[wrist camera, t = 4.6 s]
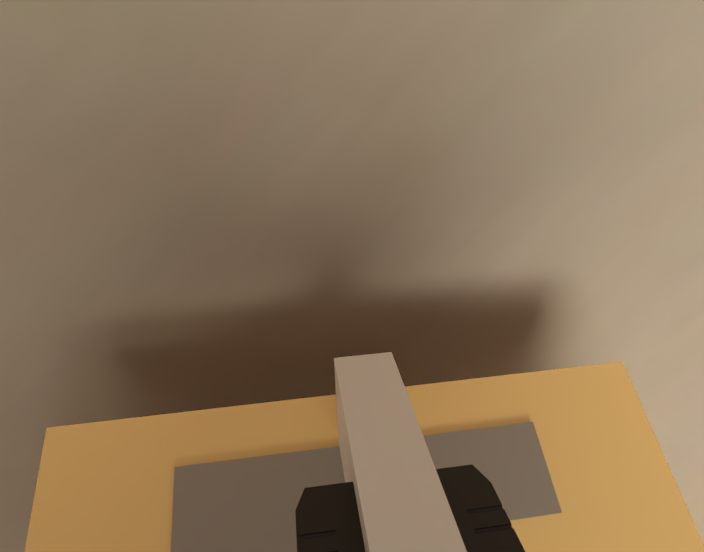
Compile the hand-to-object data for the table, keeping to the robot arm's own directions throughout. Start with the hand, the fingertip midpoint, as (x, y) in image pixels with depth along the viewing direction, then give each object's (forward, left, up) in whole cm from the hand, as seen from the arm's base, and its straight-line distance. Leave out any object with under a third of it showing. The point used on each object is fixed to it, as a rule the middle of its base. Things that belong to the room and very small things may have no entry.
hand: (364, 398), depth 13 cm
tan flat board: (0, -3, +1) cm, 3 cm away
